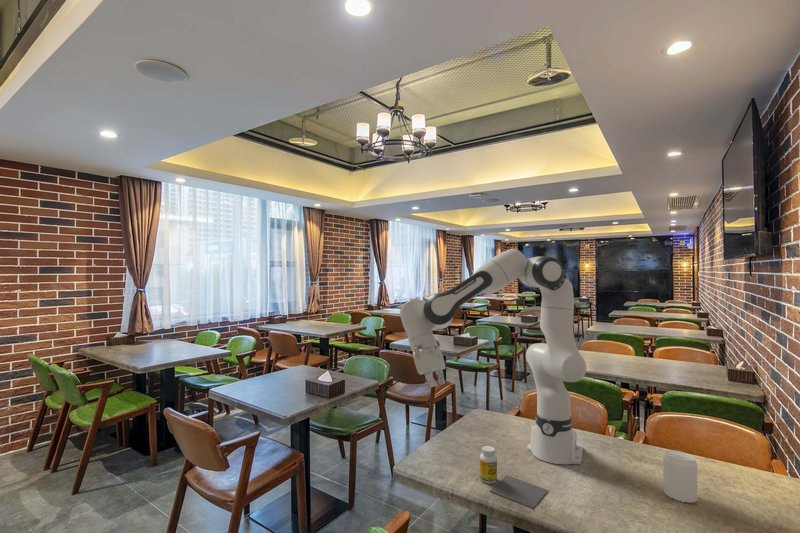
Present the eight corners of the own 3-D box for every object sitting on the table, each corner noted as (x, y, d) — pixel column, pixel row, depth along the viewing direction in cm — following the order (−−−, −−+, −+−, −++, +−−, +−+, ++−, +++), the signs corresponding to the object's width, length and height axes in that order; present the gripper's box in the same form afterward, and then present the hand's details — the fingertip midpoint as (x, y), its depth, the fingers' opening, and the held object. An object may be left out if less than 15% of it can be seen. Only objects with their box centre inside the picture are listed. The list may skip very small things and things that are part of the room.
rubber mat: (506, 476, 123) (506, 475, 123) (548, 491, 115) (548, 490, 115) (489, 491, 114) (489, 490, 114) (533, 509, 106) (533, 508, 106)
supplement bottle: (487, 473, 124) (488, 443, 125) (500, 481, 120) (501, 449, 120) (475, 478, 121) (476, 447, 122) (488, 486, 117) (488, 453, 117)
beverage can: (698, 508, 108) (698, 464, 108) (663, 498, 112) (663, 457, 113) (695, 494, 115) (695, 453, 115) (662, 486, 119) (662, 447, 119)
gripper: (421, 341, 122) (437, 384, 117) (440, 342, 140) (454, 379, 136) (404, 348, 123) (419, 391, 119) (425, 348, 142) (439, 385, 137)
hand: (438, 385), depth 127 cm, fingers open, 8 cm apart
